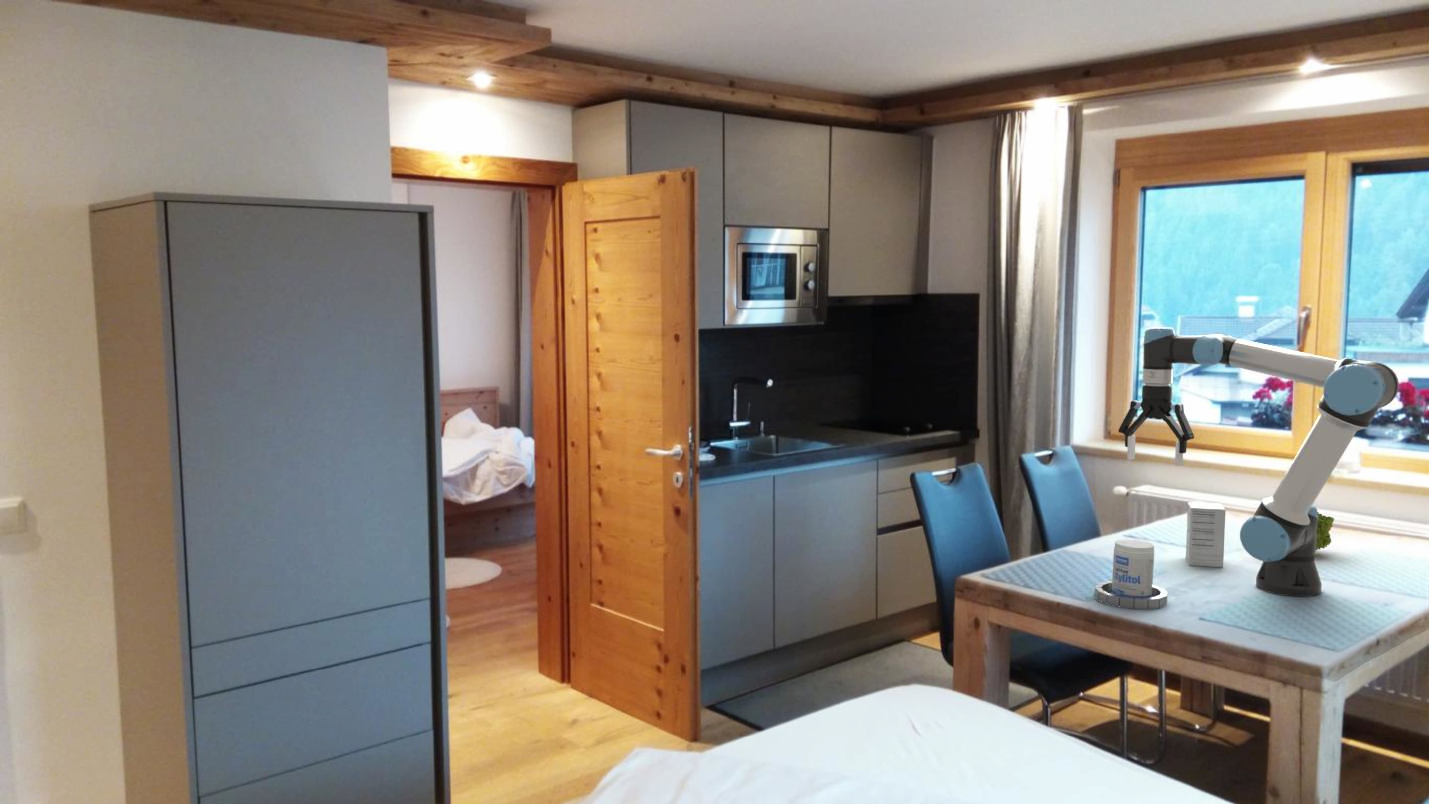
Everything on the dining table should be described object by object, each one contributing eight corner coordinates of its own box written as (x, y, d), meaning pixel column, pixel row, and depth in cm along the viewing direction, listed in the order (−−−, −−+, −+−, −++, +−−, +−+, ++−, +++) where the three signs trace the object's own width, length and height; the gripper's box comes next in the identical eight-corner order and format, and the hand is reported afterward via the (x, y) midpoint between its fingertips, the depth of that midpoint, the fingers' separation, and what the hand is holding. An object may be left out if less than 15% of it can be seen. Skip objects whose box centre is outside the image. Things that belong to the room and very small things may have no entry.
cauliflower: (1328, 532, 320) (1347, 506, 307) (1314, 573, 314) (1333, 549, 301) (1266, 508, 327) (1282, 482, 314) (1251, 548, 321) (1267, 523, 307)
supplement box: (1223, 568, 298) (1226, 509, 296) (1188, 565, 301) (1190, 507, 299) (1219, 560, 307) (1222, 503, 305) (1185, 557, 310) (1187, 501, 308)
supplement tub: (1110, 602, 266) (1112, 545, 264) (1112, 592, 274) (1114, 537, 273) (1151, 607, 262) (1153, 549, 260) (1153, 596, 270) (1155, 540, 269)
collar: (1179, 600, 267) (1179, 590, 267) (1145, 613, 256) (1145, 603, 256) (1117, 586, 280) (1117, 577, 280) (1082, 598, 269) (1082, 588, 269)
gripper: (1107, 382, 292) (1104, 458, 294) (1196, 388, 273) (1192, 469, 275) (1121, 381, 297) (1119, 455, 299) (1209, 386, 277) (1206, 466, 280)
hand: (1154, 462), depth 287 cm, fingers open, 13 cm apart
